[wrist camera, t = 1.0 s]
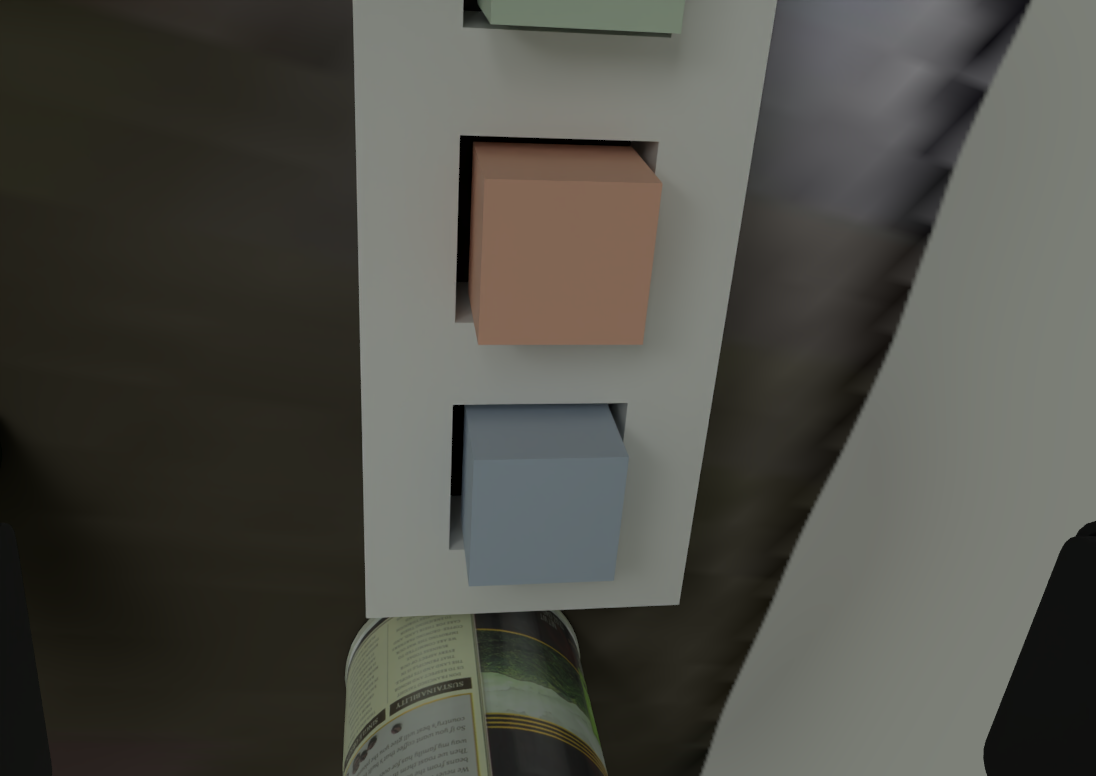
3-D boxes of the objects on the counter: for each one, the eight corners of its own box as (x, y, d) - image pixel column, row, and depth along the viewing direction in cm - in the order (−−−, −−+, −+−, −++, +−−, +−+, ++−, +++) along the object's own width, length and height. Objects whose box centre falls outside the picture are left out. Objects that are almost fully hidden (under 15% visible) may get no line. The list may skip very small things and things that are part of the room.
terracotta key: (473, 141, 31) (484, 178, 27) (631, 146, 32) (662, 183, 28) (468, 292, 33) (478, 344, 30) (616, 293, 34) (642, 344, 30)
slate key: (464, 399, 35) (473, 460, 31) (604, 397, 36) (629, 457, 32) (460, 517, 37) (469, 586, 34) (592, 513, 38) (613, 580, 35)
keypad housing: (348, -359, 26) (344, -386, 23) (782, -311, 28) (830, -331, 25) (367, 559, 40) (366, 617, 37) (657, 550, 42) (678, 604, 39)
